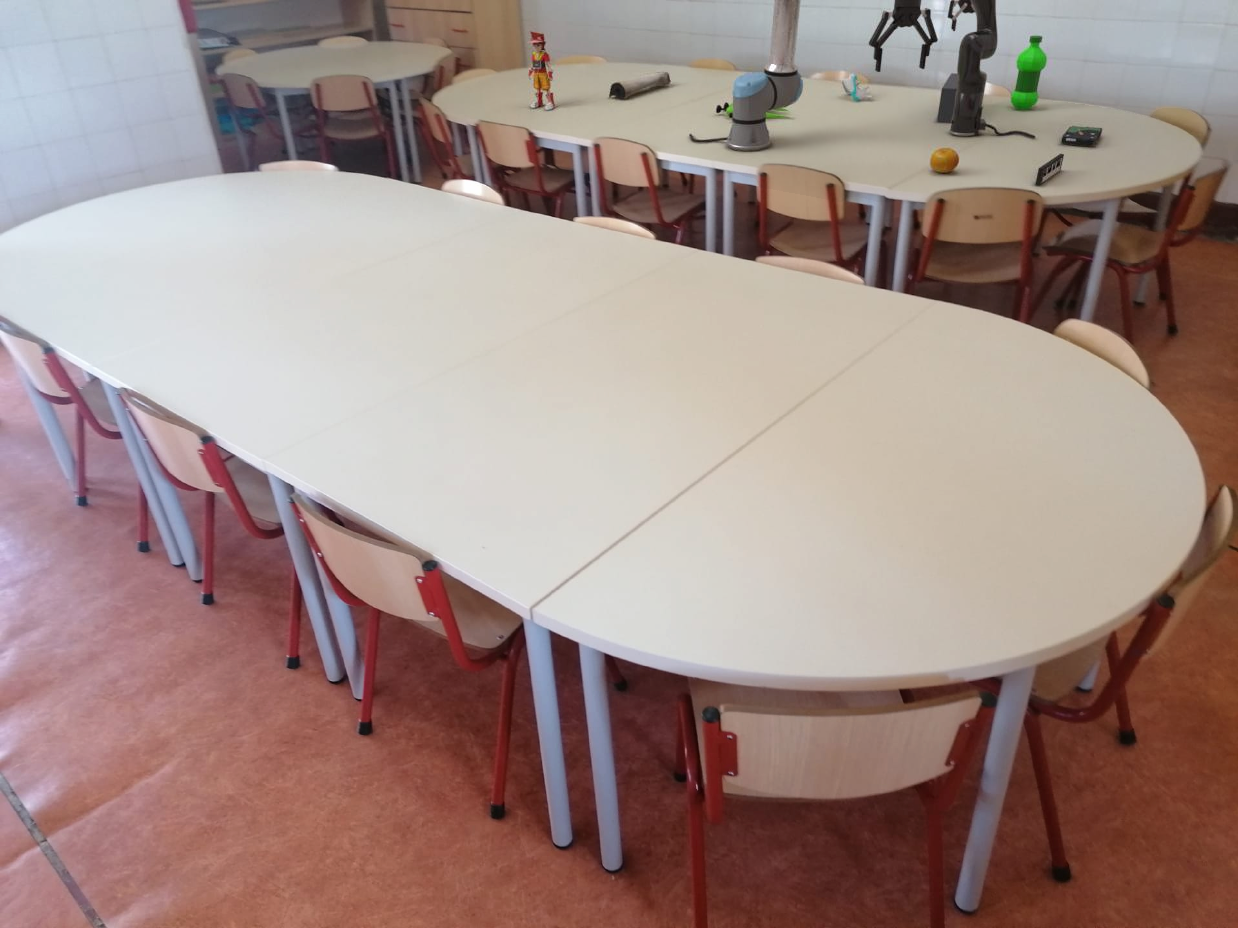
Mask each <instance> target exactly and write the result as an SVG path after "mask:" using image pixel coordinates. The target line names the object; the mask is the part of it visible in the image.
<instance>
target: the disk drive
mask: <svg viewBox="0 0 1238 928" xmlns="http://www.w3.org/2000/svg"><path fill="white" fill-rule="evenodd" d="M1102 132H1103V127H1094V126H1092V127H1091V126H1076V125H1071V126H1069V127H1068V129H1067V130H1066V131H1065V132H1064V134H1063V135H1062V136H1061V142H1060V144H1063V145H1072V146H1080V147H1081V146H1082V147H1094V146H1095V145H1096V143H1097V142H1098V141H1099V139H1100V137H1101V136H1102Z"/></svg>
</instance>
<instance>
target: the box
mask: <svg viewBox="0 0 1238 928" xmlns="http://www.w3.org/2000/svg"><path fill="white" fill-rule="evenodd" d="M957 83H958V74H957V72H956V73H955V72H954V73H950V75H949V76H948V77H947V79H946V81H945V83H944V84H943V86H942V87H941V91H940V98H939V105H938V112H937V119H936V123H945V124H951V122H952V120H951V119H952V116H953V109H954V103H955V96H956V90H957Z"/></svg>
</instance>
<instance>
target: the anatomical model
mask: <svg viewBox="0 0 1238 928" xmlns="http://www.w3.org/2000/svg"><path fill="white" fill-rule="evenodd" d="M857 80H858V76H857V75H856V74H854V72H850V73H849V75H848V77H845V78H842V79H841V84H842V88H843V89H844V92H845V93H846V94H849V95H851V97H852V99H853V100H854V101H855V102H860V101H862V100H871V99H873V98H874V97H873V95H868V94H867V91H868V89H869V88H870V86H869V85H867V86H864V87H862V88H859V86H860V84H861V82H862V80H858V81H857Z"/></svg>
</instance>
